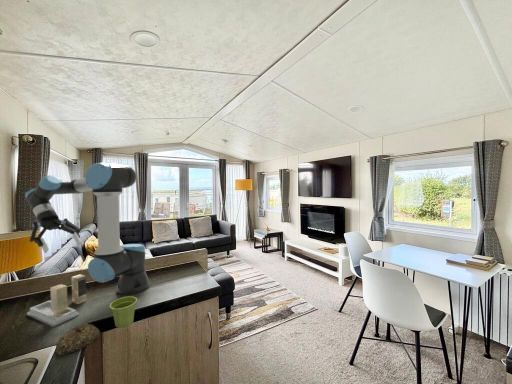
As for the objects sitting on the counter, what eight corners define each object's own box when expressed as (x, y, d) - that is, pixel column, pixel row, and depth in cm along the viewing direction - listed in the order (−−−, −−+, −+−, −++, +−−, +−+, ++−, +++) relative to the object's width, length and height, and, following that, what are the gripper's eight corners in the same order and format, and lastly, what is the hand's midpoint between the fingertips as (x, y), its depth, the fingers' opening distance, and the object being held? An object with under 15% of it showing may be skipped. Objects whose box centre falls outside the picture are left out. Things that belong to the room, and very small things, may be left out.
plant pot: (107, 334, 83) (107, 311, 83) (112, 320, 92) (111, 299, 92) (136, 327, 87) (136, 305, 87) (138, 314, 96) (138, 294, 95)
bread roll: (102, 342, 79) (101, 328, 79) (54, 360, 71) (54, 345, 71) (97, 325, 89) (96, 313, 89) (55, 339, 81) (54, 326, 81)
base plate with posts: (26, 315, 96) (25, 284, 95) (52, 304, 104) (51, 276, 103) (53, 326, 88) (51, 293, 87) (79, 314, 96) (78, 284, 95)
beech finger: (72, 302, 106) (71, 276, 105) (80, 298, 109) (79, 274, 109) (78, 304, 104) (77, 278, 103) (86, 300, 107) (86, 275, 107)
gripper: (71, 216, 128) (88, 245, 122) (9, 223, 105) (27, 259, 99) (76, 207, 125) (94, 236, 120) (14, 212, 103) (33, 249, 97)
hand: (64, 247), depth 110 cm, fingers open, 13 cm apart
